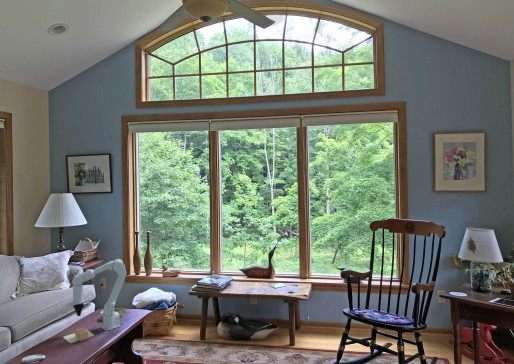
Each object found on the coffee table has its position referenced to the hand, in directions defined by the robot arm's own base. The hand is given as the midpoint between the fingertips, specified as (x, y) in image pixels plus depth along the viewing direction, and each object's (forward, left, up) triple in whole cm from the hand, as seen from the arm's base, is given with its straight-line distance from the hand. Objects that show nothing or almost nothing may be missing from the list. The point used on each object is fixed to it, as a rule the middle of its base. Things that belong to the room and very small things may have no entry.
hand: (78, 315), depth 234 cm
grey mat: (+3, +7, -10) cm, 13 cm away
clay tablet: (-27, -9, -11) cm, 31 cm away
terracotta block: (+3, +8, -8) cm, 11 cm away
